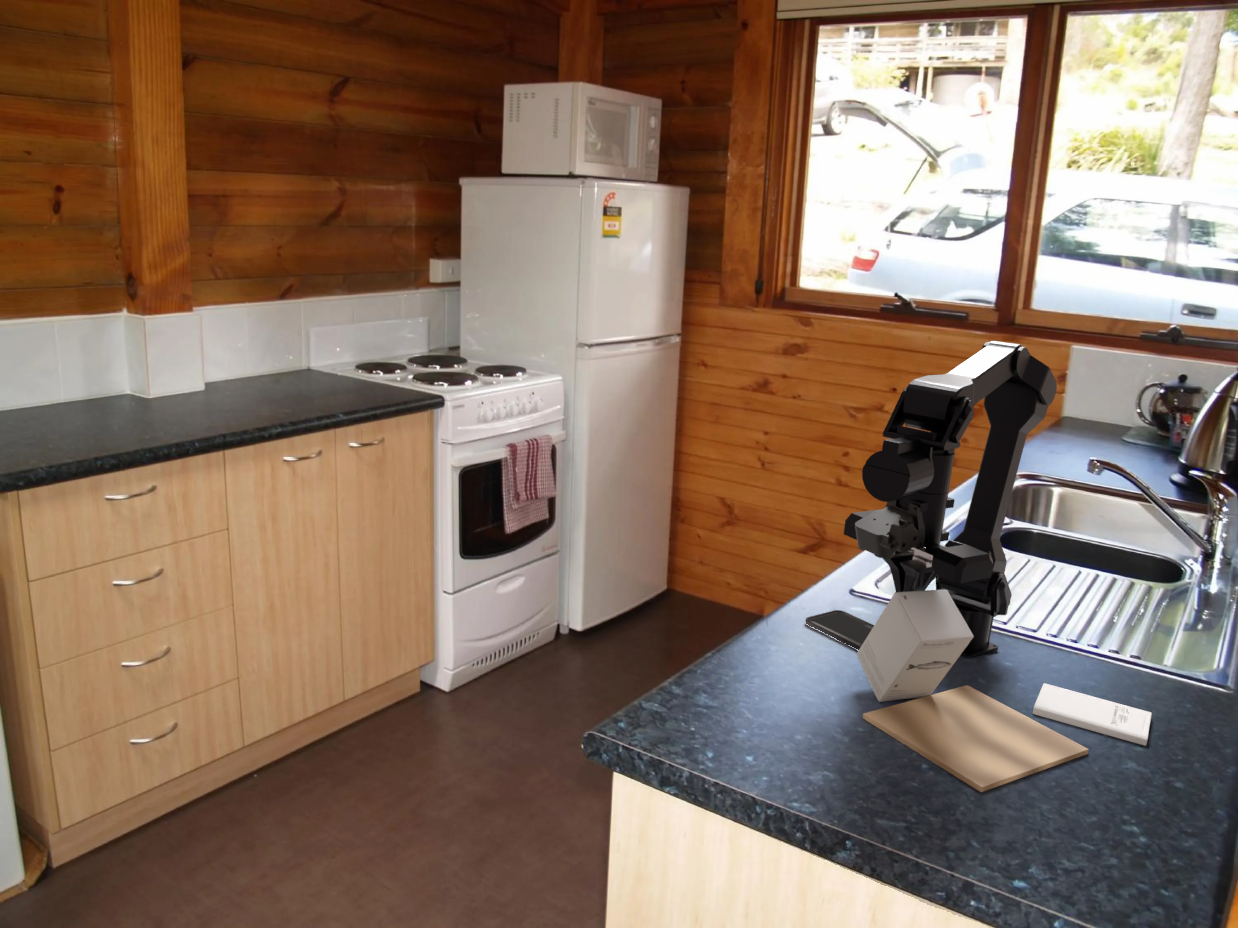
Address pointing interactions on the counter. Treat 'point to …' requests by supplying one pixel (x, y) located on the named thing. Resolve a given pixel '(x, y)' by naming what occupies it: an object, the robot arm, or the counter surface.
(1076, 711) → the external hard drive
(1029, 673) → the counter surface
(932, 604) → the supplement box
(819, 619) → the phone
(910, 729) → the wooden cutting board
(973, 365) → the robot arm
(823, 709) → the counter surface
